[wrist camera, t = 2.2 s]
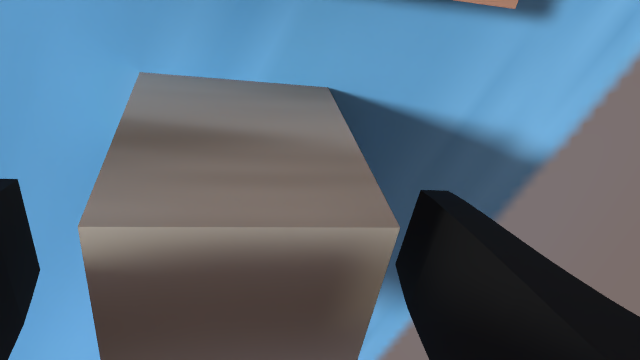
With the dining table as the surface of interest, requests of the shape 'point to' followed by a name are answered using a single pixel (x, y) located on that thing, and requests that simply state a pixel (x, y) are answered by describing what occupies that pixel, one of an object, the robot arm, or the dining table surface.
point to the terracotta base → (495, 2)
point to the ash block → (233, 226)
